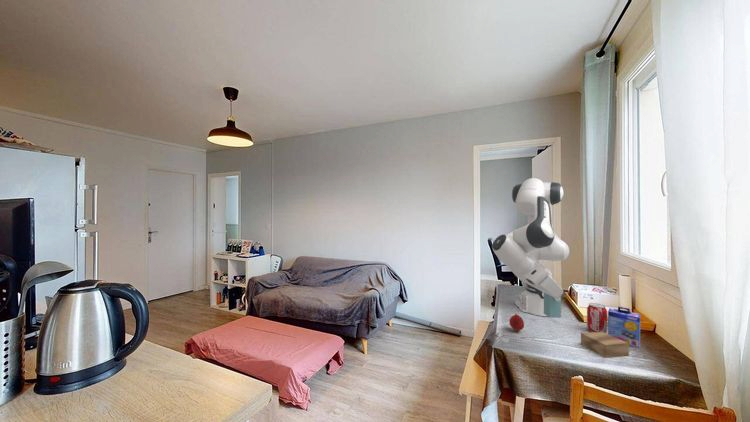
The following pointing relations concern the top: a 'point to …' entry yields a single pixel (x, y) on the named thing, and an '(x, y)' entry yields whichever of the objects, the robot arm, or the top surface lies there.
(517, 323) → the onion
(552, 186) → the robot arm
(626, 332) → the ink cartridge box
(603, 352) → the walnut block
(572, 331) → the top surface
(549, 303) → the teal block
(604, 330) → the soda can
